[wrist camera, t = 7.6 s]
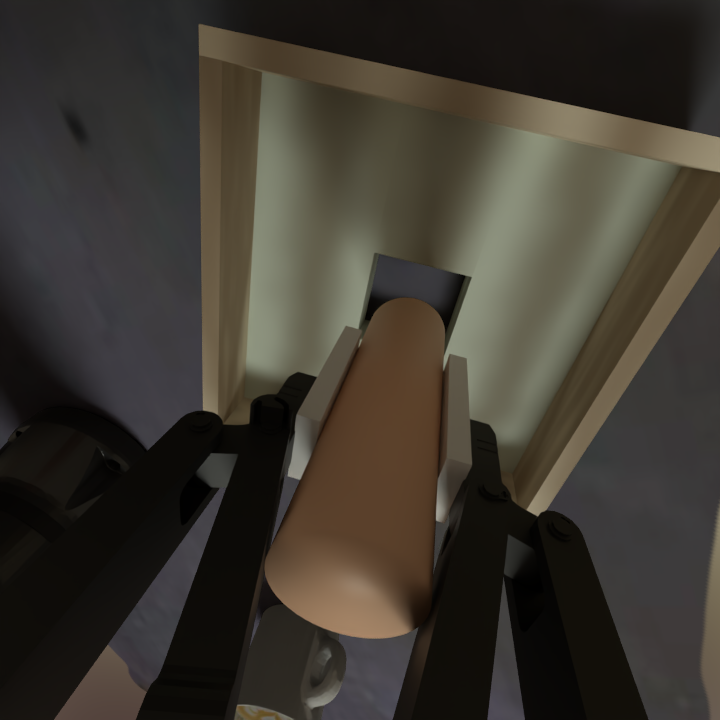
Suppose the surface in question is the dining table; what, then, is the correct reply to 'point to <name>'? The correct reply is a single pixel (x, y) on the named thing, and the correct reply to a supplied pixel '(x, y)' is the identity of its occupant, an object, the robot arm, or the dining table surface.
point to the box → (442, 235)
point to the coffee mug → (290, 669)
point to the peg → (370, 487)
